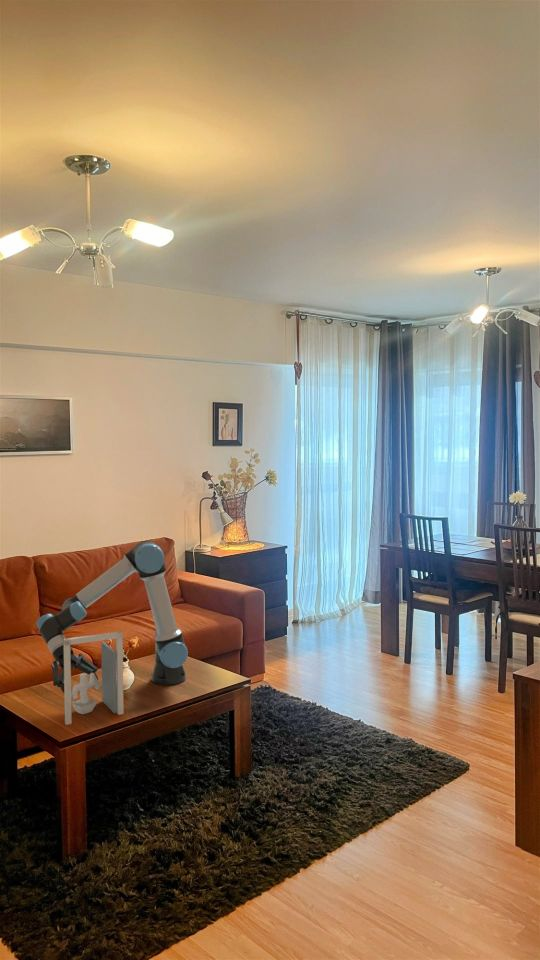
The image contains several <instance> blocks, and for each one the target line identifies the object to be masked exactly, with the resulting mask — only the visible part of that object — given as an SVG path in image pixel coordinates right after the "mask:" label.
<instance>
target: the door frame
mask: <svg viewBox="0 0 540 960" xmlns="http://www.w3.org/2000/svg"><path fill="white" fill-rule="evenodd" d="M123 639H124V638H123V632H122V631H113V632H106V633H99V634H91V635H84V636H74V637H69V638H68V637H67V638H66V639H64V682H63V683H64V695H63V697H64V724H65V725H66V726H67V725H72V722H73V721H72V704H71V703H72V699H71V692H72V672H71V671H72V669H71V659H70V646H71V645H72V646H73V645H77V644H78V645H79V644H84V643H93V642H103V641H108V640H115V651H116V693H117V713H116V714H117V715H118V716H119V715H124V713H125V712H124V655H123V654H124V653H123V651H124V649H123V647H124V646H123V642H124V641H123Z"/></svg>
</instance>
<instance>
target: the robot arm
mask: <svg viewBox="0 0 540 960" xmlns="http://www.w3.org/2000/svg"><path fill="white" fill-rule="evenodd" d="M166 572H167V568H166V564H165V554H164V552H163V550H162V548H161V547H160V546H159V545H158V544H156V543H155V542H153V541H151V540H142V541H139V542H138V543H137V544H135V545H134V546H133V547H132V548H131V549H129V550H128V551H127V552H126V553H125V554H124V555H123V558H122V559H121V560H119V561H118V562H116V563H115V564H114V565H113V566H111V567H110V568H109V569H107V570H106V571H105V572H103V573H102V574H100V576H98V577H97V578H95V579H94V580H93V581H91V583H89V584H88V585H86V586H85V587H84V588H82V589H81V590H80V591H78V592H77V593H76V594H75V595H73V596H72V597H70V598H67V599H66V600H65V601H64V602H63V603H62V605H61V610H60V611H59V612H58V613H56V614H54V615H53V614H52V613H46V614H44V615H41V616H40V617H39V618H38V619H37V621H36V624H35V625H36V627H37V629H38V631H39V634H40V635H41V637H42V639H43V640H44V642H45V643H46V646H47V647H48V649H49V651H50V653H51V654H52V657H53V659H54V660H53V662H52V663H51V665H50V666H51V669H52V681H53V683H52V684H53V686H54V687H56V686H57V688H60V690H61V692H62V693H64V639H67V638H66V636H65V635H64V632H65V631H66V630H68V629H70V628H71V627H72V626H74V625H75V624H77V623H78V622H80V621H82V620H83V619H84V618H85V617H87V614H88V613H87V610H86V609H87V608H88V607H90V606H91V605H92V604H94V603H95V602H96V601H98V600H99V599H100V598H101V597H103V596H105V595H106V594H107V593H108V592H109V591H110V590H112V589H113V588H115V587H117V585H118V584H121V583H122V581H124V580H125V579H127V578H128V577H129V576H131V575H132V574H133V573H137V574H138V576H139V579H140V580H142V581H143V582H144V585H145V586H144V587H145V589H146V594H147V597H148V598H147V599H148V601H149V602H148V603H149V605H150V609H151V610H150V611H151V613H152V617H153V622H154V625H155V632H154V640H155V641H154V642H155V643H154V646H155V647H154V648H155V650H154V651H155V653H154V655H155V656H154V657H155V661H154V662H155V663H154V668H153V671H152V673H151V682H152V683H154V684H156V685H160V686H161V685H163V686H164V685H165V686H167V685H168V686H170V685H176V684H180V683H183V682H185V680H186V679H187V678H186V677H187V674H186V671H185V668H184V664H185V663H186V661H187V659H188V657H189V656H188V655H189V653H188V652H189V651H188V647H187V646H186V643H185V639H184V635H183V632H182V629H181V628H179V627H178V626H177V622H176V618H175V616H174V615H175V614H174V611H173V606H172V602H171V599H170V595H169V591H168V587H167V583H166V578H165V574H166ZM70 659H71V670H73V669H76V670H79V671H81V672H83V673H86V674H87V675H89V678H88V679H90V673H94V674H95V684H94V686H93V687H94V689H95V690H96V691H99V690H100V689H101V688H102V683H100V681H99V677H98V675H97V673H96V672H97V671H98V669H99V667H97V666H95V665H94V664H93V663H92V662H91V661H89V659H87V658H86V657H85V656H84V655H83V654H82V653H81V652H80V653H79V654H77V655H75V654H74V650H73V648H72V646H71V645H70ZM59 667H60V673H59ZM59 674H60V675H59ZM72 699H73V691H71V700H72Z"/></svg>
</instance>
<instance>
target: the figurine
mask: <svg viewBox="0 0 540 960" xmlns="http://www.w3.org/2000/svg"><path fill="white" fill-rule="evenodd" d="M89 676H90V678H88V674H87V673H85V672H83V673H80V674H79V683H77V684H74V685H72V689H71V692H72V694H73V697H72V699H74V700H75V701H71V707H72V708H73V709H74V711H75V713H78V714H81V715H85V714H89V713H91V712H93V710H94V708H95V706H96V705H97V703H98V702H97V701H96V700H93V699H92V698H91V699H90V698H88V689H91V688H94V687H95V686H94V684H95V674H94V673H90V675H89ZM79 693H80V694H79ZM78 694H79V696H80V697H79V699H78ZM77 699H78V700H77Z"/></svg>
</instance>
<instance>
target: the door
mask: <svg viewBox="0 0 540 960" xmlns="http://www.w3.org/2000/svg"><path fill="white" fill-rule="evenodd" d="M100 643H101V644H100V645H101V646H100V647H101V651H100V652H101V657H100V658H101V700H102V702H103V703H104V705H106V707H107V708H108V709H109V710H110V711H111V712H112V713H113V714H117V675H116V649H114V648H112V647H111V646H110V645H109V644H107V642H105V641H100Z"/></svg>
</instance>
